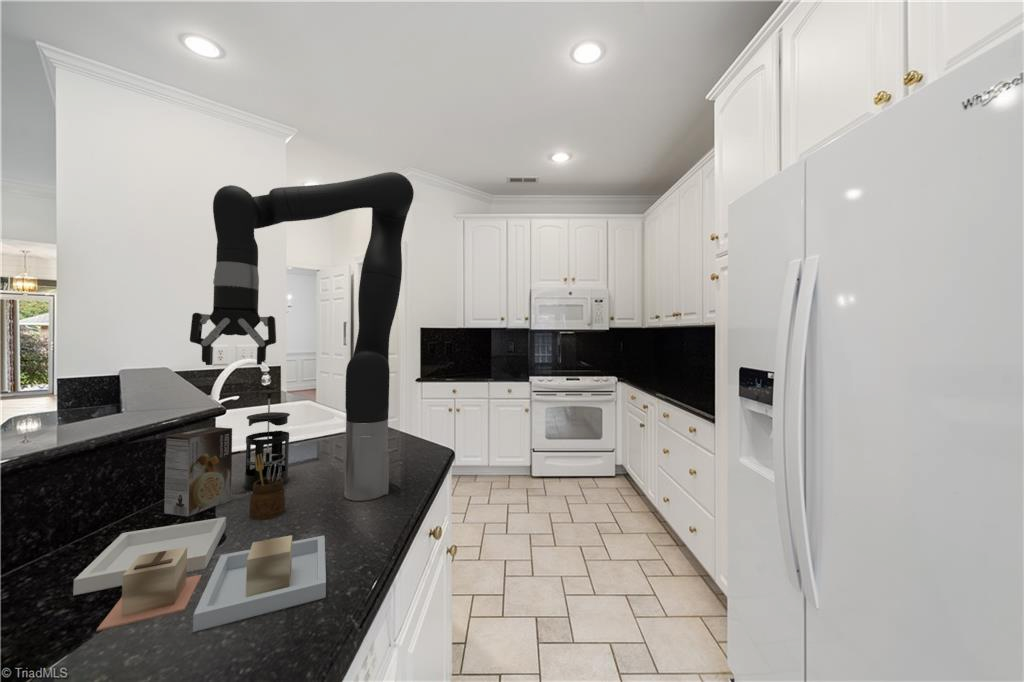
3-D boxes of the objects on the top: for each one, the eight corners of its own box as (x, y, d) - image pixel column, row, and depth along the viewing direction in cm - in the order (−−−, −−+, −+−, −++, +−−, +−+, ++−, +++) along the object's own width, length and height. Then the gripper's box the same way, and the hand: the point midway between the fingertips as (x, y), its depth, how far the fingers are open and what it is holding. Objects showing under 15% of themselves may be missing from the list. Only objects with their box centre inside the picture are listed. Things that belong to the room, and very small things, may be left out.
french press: (278, 491, 88) (281, 393, 89) (233, 493, 86) (236, 393, 87) (297, 474, 100) (299, 387, 100) (258, 475, 98) (260, 387, 98)
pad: (201, 579, 55) (201, 574, 55) (184, 615, 48) (184, 608, 48) (127, 595, 51) (127, 589, 51) (96, 636, 44) (96, 629, 44)
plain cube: (291, 568, 57) (292, 535, 57) (289, 587, 53) (290, 551, 53) (251, 577, 55) (252, 542, 55) (245, 597, 50) (246, 560, 50)
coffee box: (208, 498, 83) (210, 425, 84) (232, 501, 82) (234, 427, 82) (162, 516, 74) (164, 435, 75) (188, 520, 73) (190, 437, 73)
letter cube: (186, 582, 53) (187, 545, 53) (174, 604, 48) (175, 563, 49) (138, 592, 51) (139, 553, 51) (121, 616, 46) (122, 573, 46)
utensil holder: (264, 525, 71) (265, 462, 72) (241, 519, 74) (243, 458, 74) (291, 512, 77) (293, 454, 77) (269, 507, 79) (271, 450, 79)
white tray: (225, 531, 69) (226, 516, 69) (205, 572, 57) (205, 554, 57) (121, 548, 63) (122, 533, 63) (73, 599, 50) (73, 579, 50)
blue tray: (324, 550, 63) (324, 535, 63) (325, 601, 51) (325, 582, 51) (220, 572, 57) (220, 555, 57) (192, 637, 44) (193, 614, 44)
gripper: (278, 291, 85) (276, 363, 85) (198, 286, 78) (196, 364, 78) (275, 287, 78) (273, 365, 78) (187, 280, 72) (184, 366, 71)
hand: (234, 364), depth 78 cm, fingers open, 8 cm apart
